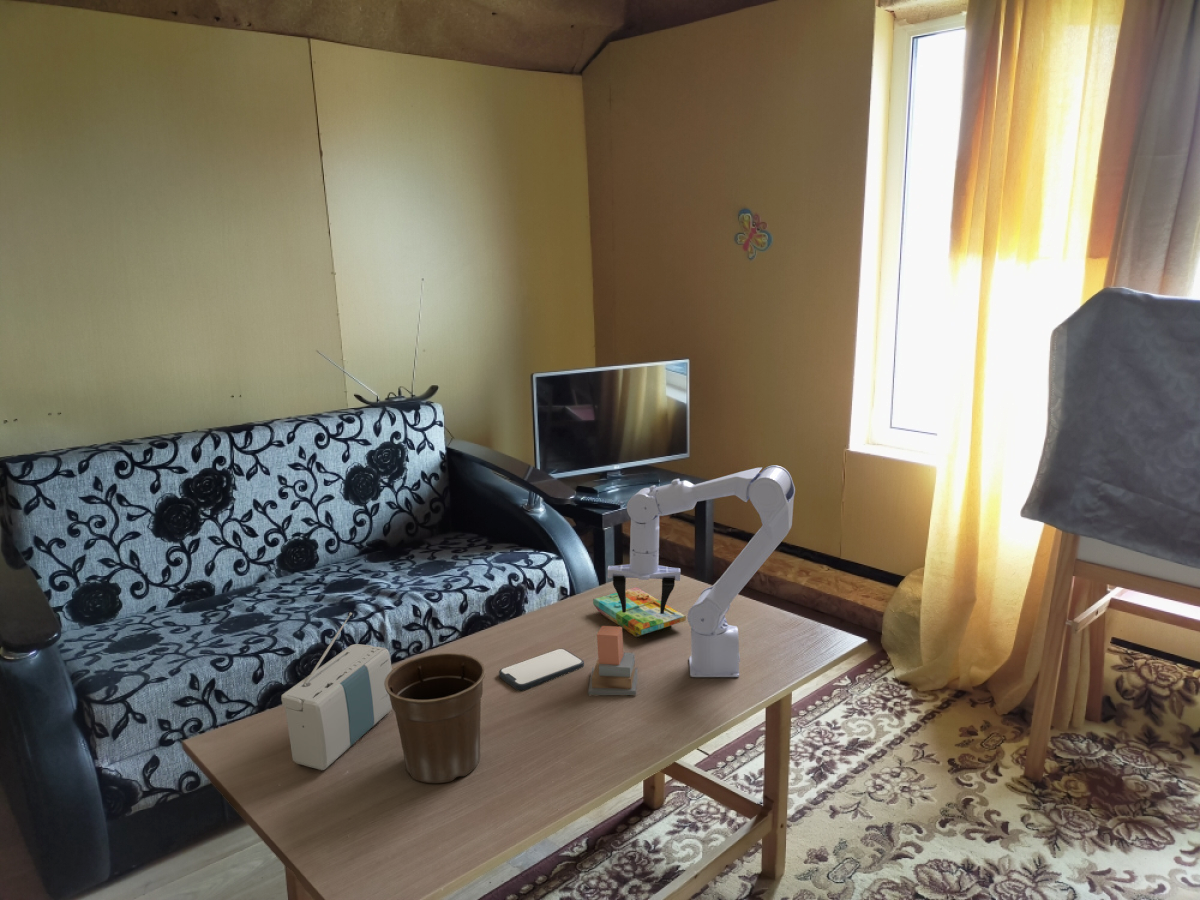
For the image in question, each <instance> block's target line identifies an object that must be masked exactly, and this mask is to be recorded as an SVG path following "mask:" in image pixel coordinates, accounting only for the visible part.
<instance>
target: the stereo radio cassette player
mask: <svg viewBox="0 0 1200 900" xmlns="http://www.w3.org/2000/svg"><path fill="white" fill-rule="evenodd" d="M352 615H353V612H349V614H348V616H347V617H346V619H345V621H344V622H343V624H342V625H341V627H340V628H339V629H338V631H337V633H335V635H334V637H333V639H332V640H331V641H330V643H329V644H328V646H327V648H326V649H325V651H324V652H323V654H322V656H321V657H320V659H319V661H318V662H317V663H316V665H315V666H314V668H313V670H312V671H311V673H310V674H309V675H307V676H306V677H305V678H303V679H302V680H301V681H299V682H297V684H295V685H293V686H292V687H291V688H289V689H287V690H286V691H285V692H284V693H283V694H281V698H280V699H281V703H282V706H283V707H284V708H285V714H286V721H287V728H288V730H287V731H288V736H289V743H290V749H291V755H292V761H293V762H295V763H296V764H298V765H301V766H306V767H308V768H313V769H316V770H319V771H324V770H326V769H327V768H328V767H330V766H331V764H333V763H334V762H335V761H336V760H337V759H338V758H339V757H341V756H342V755H343V754H344V753H345V752H346V751H347V750H348V749H350V747H352V746H353V745H354V744H355V743H356V742H357V741H359V739H360V738H362V737H363V736H364V735H365V734H366V733H367V732H368V731H370V730H371V729H372V728H373V727H374V726H375V725H376V724H377V723H378V722H380V721H381V720H382V719H383V718H384V717H385V716H386V715H388V714H389V713H390V711H392V710H393V708H392V705H391V701H390V696H389V694H388V693H387V691H386V689H385V685H384V682H385V679H386V677H387V675H388V674H389V673H390V672H391V671H392V670H393V668H392V662H391V655H390V652H389V649H387V648H386V647H381V646H373V645H371V644H360V643H359V644H358V643H355V644H351V645H349V646H348V647H346V648H345V649H343V650H342V651H341V652H340V653H337V654H336V656H334V657H333V658H330V660H328V661H327V662H326V663H324V664H323V665H321V664H322V662H323V660H324V659H325V658H326V656H327V655H328V653H329V651H330V649H331V648H332V646H333V645H334V644H335V641H336V640H337V638H338V636H339V635H340V633H341V631H342V630H343V628H344V627H345V625H346V623H347V621H349V618H350V617H351V616H352ZM320 665H321V666H320Z"/></svg>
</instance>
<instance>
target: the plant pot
mask: <svg viewBox="0 0 1200 900" xmlns="http://www.w3.org/2000/svg"><path fill="white" fill-rule="evenodd" d="M485 676H486V666H485V664H484V663H483V662H482V661H481V660H480V659H478V658H476V657H475V656H472V655H469V654H465V653H461V652H460V653H459V652H439V653H431V654H426V655H421V656H418V657H415V658H411V659H409V660H407V661H405V662H403V663H400V664H399V665H397V666H396V667H395V668H392V671H391V672H390V673H389V674H388V675H387V677H386V679H385V682H384V685H385V689H386V691H387V693H388V694H389V696H390V701H391V705H392V708H393V709H392V710H393V712H394V714H395V718H396V723H397V724H396V725H397V729H398V732H399V738H400V742H401V748H402V751H403V752H402V753H403V757H404V762H405V763H404V764H405V768H406V771H407V772H408V773H409V775H410V776H411V778H413V779H414V780H416V781H418V782H421V783H426V784H443V783H445V784H446V783H450V782H453V781H454V780H455V779H456V778H458V777H465V776H467V775H469V774H470V773H471V772H472V771H473V770H475V768H476V767H477V766H478V764H479V762H480V759H481V712H482V711H481V709H482V707H481V706H482V705H481V701H482V700H481V699H482V696H483V692H484V691H483V690H484V689H483V686H484V682H483V681H484V679H485Z"/></svg>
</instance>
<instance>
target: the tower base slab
mask: <svg viewBox="0 0 1200 900" xmlns="http://www.w3.org/2000/svg"><path fill="white" fill-rule="evenodd" d="M594 669H595V666H593V667H592V668H591V674H590V679H589V684H588V690H587V691H588V696H589V695H636V696H637V688H636V686H637V687H638V674H639V673H638V672H639V671H638V667H636V666H635V673H634V678H633V683H632V688H631V689H619V688H592V676H593V672H594ZM637 673H638V674H637Z"/></svg>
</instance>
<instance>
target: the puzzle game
mask: <svg viewBox="0 0 1200 900" xmlns="http://www.w3.org/2000/svg"><path fill="white" fill-rule="evenodd" d="M592 604H593V606H594V607H595V609H596V610H597V611H598V612H599V613H600V614H601V615H603V616H604V617H606V618H607V619H609V620H610V621H611V622H613V623H614V624H616V625H617V626H618V627H622V629H624V630H625V631H626V632H628V633H630V634H632V635H633V636H634V637H636V638H637V637H640V636H643V635H647V634H650V633H654V632H656V631H659V630H663V629H666V628H669V627H672V626H674V625H676V624H679V623H683V622H686V619H687V617H686V615H684V614H683V613H681V612H680V611H677V610H675V608H672V607H671V606H670V605H667V604H666V605H665V609H664V614H660V605H661V600H659V599H658V598H655V597H654V596H653V595H651V594H649V593H647V592H646V591H644V590H642V589H640V588H639V587H637V586H636V587H632V588H628V589H626V613H625V612H622V606H621V602H620V599H619V596H618V594H617V592H614V593H610V594H607V595H602V596H599V597H596V598H593V600H592Z"/></svg>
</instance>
